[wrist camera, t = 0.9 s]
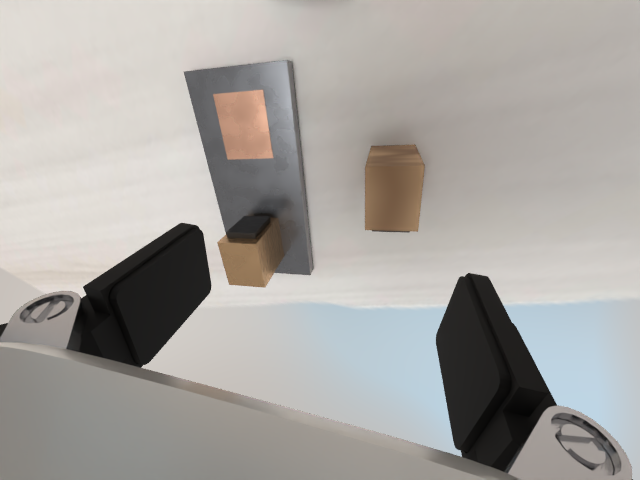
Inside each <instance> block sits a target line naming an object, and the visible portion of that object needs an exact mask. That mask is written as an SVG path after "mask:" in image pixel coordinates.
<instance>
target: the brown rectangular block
mask: <svg viewBox="0 0 640 480" xmlns="http://www.w3.org/2000/svg"><path fill="white" fill-rule="evenodd" d="M424 168H425V165H424V163H423V161H422V159H421V156H420V154H419V152H418V150H417V148H416V145H391V146H371V149H370V152H369V156H368V159H367V163H366V166H365V230H372V231H380V232H410V231H418V226H419V216H420V207H421V197H422V187H423V177H424Z"/></svg>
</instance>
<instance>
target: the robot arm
mask: <svg viewBox="0 0 640 480" xmlns="http://www.w3.org/2000/svg"><path fill="white" fill-rule="evenodd" d="M83 288H84V290H85V292H86V296H84V297H83V298H82V299H81V297H80V296H79V295H78V294H77V293H75V292H72V291H59V292H53V293H49V294H46V295H43V296H40V297H38V298H35V299H33V300H31V301H29V302H27V303H26V304H24V305H23V306H21V307H20V308H19V309H18V310H17V311H16V312H15V313H14V314H13V316H12V318H11V319H10V321H9V323H6V324H2V325H0V480H633V479H632V466H631V464H630V462H629V459H628V457H627V455H626V453H625V452H624V450H623V449H622V448H621V446H620V445H619V443H618V442H617V441H616V440H615V439H614V438H613V437H612V436H611V435H610V434H609V433H608V432H607V431H606V430H605V429H604V428H603V427H602V426H600V425H599V424H598V423H596V422H595V421H594V420H593V419H591V418H589V417H588V416H586V415H584V414H582V413H581V412H579V411H576V410H573V409H571V408H568V407H563V406H557V404H556V403H555V401H554V399H553V397H552V395H551V393H550V391H549V389H548V387H547V385H546V383H545V381H544V380H543V378H542V376H541V374H540V372H539V370H538V368H537V366H536V364H535V362H534V360H533V358H532V356H531V355H530V353H529V351H528V349H527V347H526V345H525V343H524V341H523V339H522V337H521V335H520V333H519V332H518V330H517V328H516V326H515V325H514V324H513V323H512V322H511V320H510V318H509V316H508V314H507V312H506V310H505V308H504V306H503V304H502V302H501V300H500V298H499V297H498V295H497V293H496V291H495V289H494V287H493V285H492V283H491V281H490V279H489V278H488V277H487V276H482V275H477V274H471V273H468V274H467V275H466V276H465V277H463V276H461V277H460V278H459V279H458V282H457V284H456V287H455V289H454V292H453V294H452V297H451V299H450V302H449V304H448V307H447V309H446V312H445V314H444V317H443V319H442V322H441V324H440V327H439V329H438V332H437V335H436V346H437V351H438V356H439V362H440V368H441V373H442V379H443V385H444V391H445V396H446V402H447V408H448V413H449V419H450V424H451V429H452V435H453V441H454V445H455V447H456V448H457V449H458V450H461V453H462V457H460V456H456V455H453V454H450V453H447V452H443V451H440V450H436V449H433V448H430V447H426V446H423V445H419V444H416V443H413V442H409V441H406V440H403V439H399V438H395V437H392V436H389V435H385V434H381V433H378V432H375V431H371V430H367V429H363V428H360V427H356V426H352V425H349V424H346V423H342V422H339V421H335V420H331V419H328V418H324V417H320V416H317V415H313V414H310V413H306V412H303V411H299V410H295V409H291V408H288V407H284V406H281V405H277V404H273V403H270V402H266V401H262V400H258V399H255V398H251V397H248V396H244V395H240V394H237V393H233V392H229V391H225V390H222V389H218V388H214V387H210V386H207V385H203V384H200V383H196V382H192V381H189V380H185V379H181V378H177V377H173V376H170V375H166V374H162V373H158V372H154V371H151V370H146V369H143V368H141V367H142V366H143V365H145V364H147V363H149V362H150V361H151V360H152V359H153V357H154V356H155V355H156V354H157V353H158V352H159V350H160V349H161V348H162V347H163V346H164V345H165V344H166V343H167V341H168V340H169V339H170V338H171V337H172V336H173V335H174V333H175V332H176V331H177V330H178V329H179V328H180V327H181V325H182V324H183V323H184V322H185V321H186V320H187V318H188V317H189V316H190V315H191V314H192V313H193V311H194V310H195V309H196V308H197V307H198V306H199V305H200V304H201V302H202V301H203V300H204V299H205V298H206V297H207V296H208V294H209V293H210V290H211V280H210V274H209V267H208V261H207V255H206V249H205V242H204V236H203V232H202V231H201V230H200V229H199V227H198V226H196V225H192V224H186V223H180V224H178V225H177V226H175V227H174V228H172V229H171V230H169V231H168V232H166V233H165V234H163V235H161V236H160V237H158V238H157V239H155V240H154V241H152V242H151V243H149V244H148V245H146V246H145V247H143V248H142V249H140V250H139V251H137V252H135V253H134V254H132V255H131V256H129V257H128V258H126V259H125V260H123V261H122V262H120V263H119V264H117V265H116V266H114V267H113V268H111V269H110V270H108V271H106V272H105V273H103V274H102V275H100V276H99V277H97V278H96V279H94V280H93V281H91V282H90V283H88V284H87V285H85V286H84V287H83Z"/></svg>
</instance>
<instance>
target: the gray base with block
mask: <svg viewBox="0 0 640 480" xmlns="http://www.w3.org/2000/svg"><path fill="white" fill-rule="evenodd" d="M184 75H185V78H186V82H187V86H188V90H189V94H190V98H191V101H192V105H193V109H194V113H195V117H196V121H197V124H198V128H199V132H200V136H201V140H202V143H203V147H204V151H205V155H206V159H207V163H208V166H209V170H210V174H211V178H212V182H213V186H214V189H215V193H216V197H217V201H218V205H219V209H220V212H221V216H222V220H223V224H224V228H225V231H226V235H225V236H224V237H223V238H222V239H221V240H220V241H219V242H217V243H218V246H219V250H220V253H221V257H222V261H223V264H224V268H225V271H226V275H227V278H228V282H229V285H241V286H253V287H266V285H267V283H268V282H269V280H270V279H271V277H272V275H273V274H274V273H287V274H302V275H311V272H312V270H313V260H312V251H311V241H310V231H309V221H308V211H307V202H306V192H305V182H304V172H303V163H302V153H301V143H300V133H299V124H298V114H297V104H296V94H295V84H294V75H293V65H292V61H288V60H283V61H274V62H266V63H257V64H248V65H239V66H230V67H221V68H213V69H204V70H195V71H186V72H184Z"/></svg>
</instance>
